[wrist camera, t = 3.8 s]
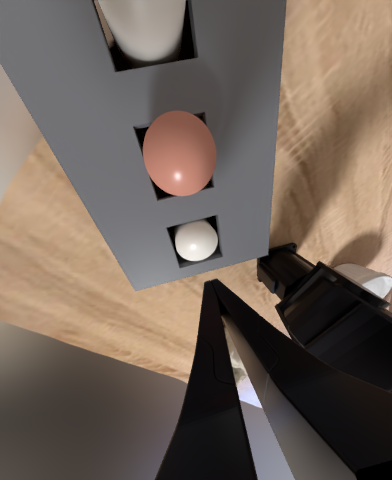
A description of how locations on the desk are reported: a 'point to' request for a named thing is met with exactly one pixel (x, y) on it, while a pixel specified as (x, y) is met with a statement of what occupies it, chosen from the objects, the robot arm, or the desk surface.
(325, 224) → the desk surface
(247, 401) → the desk surface
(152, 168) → the knob middle
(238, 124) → the housing
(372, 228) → the desk surface
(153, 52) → the knob
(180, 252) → the knob
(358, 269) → the ramekin
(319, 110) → the desk surface
